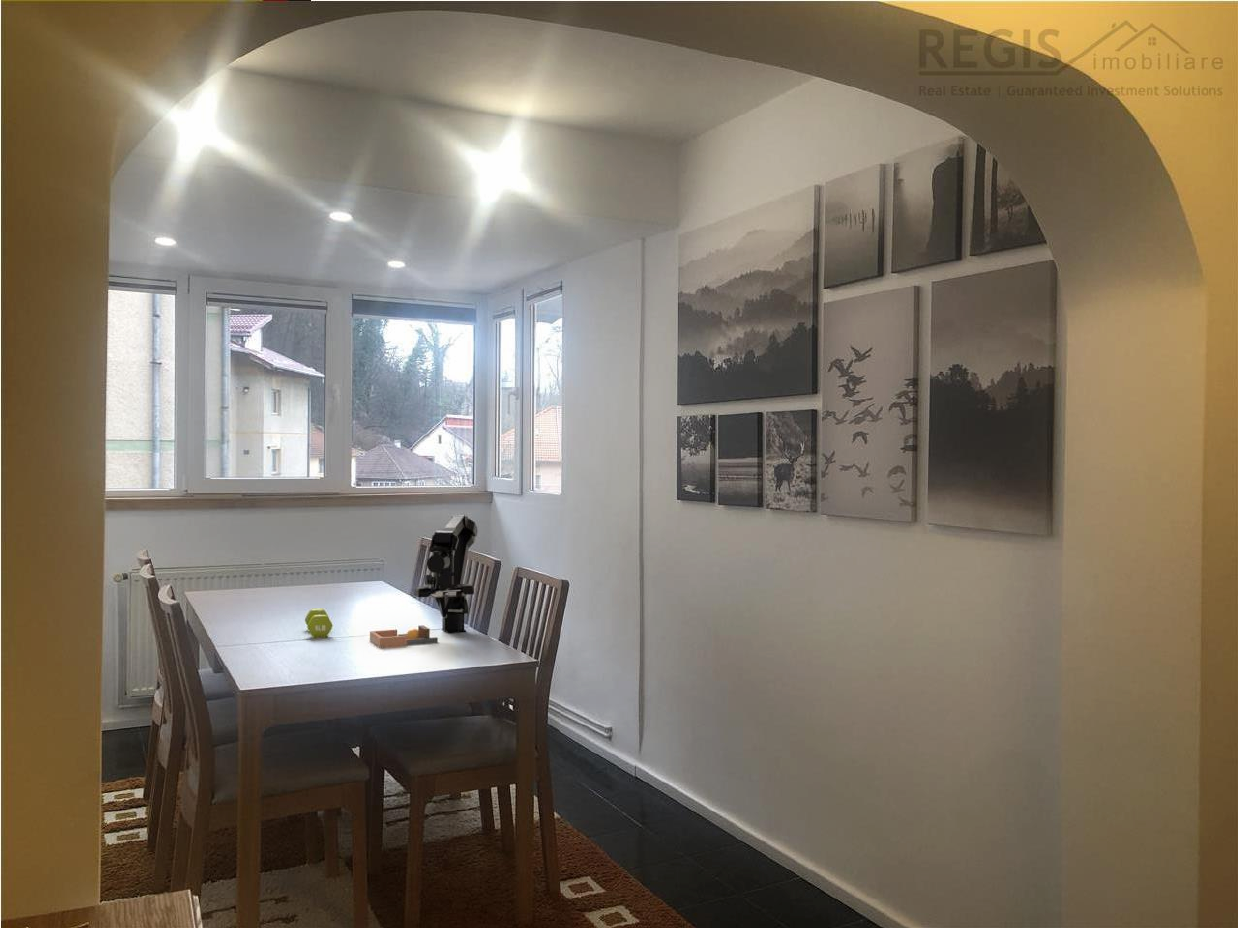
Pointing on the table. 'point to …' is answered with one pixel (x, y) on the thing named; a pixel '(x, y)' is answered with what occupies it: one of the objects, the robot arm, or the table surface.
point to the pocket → (387, 638)
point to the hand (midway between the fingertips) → (443, 616)
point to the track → (420, 640)
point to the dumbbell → (318, 623)
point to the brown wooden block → (424, 632)
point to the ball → (413, 634)
